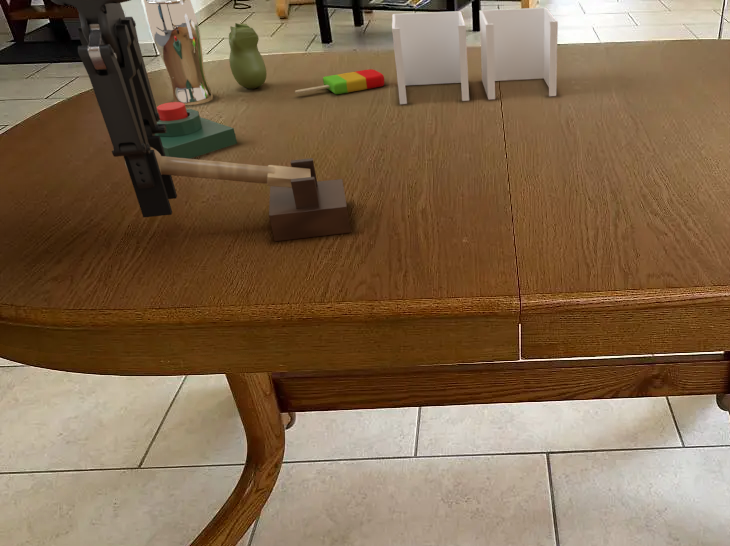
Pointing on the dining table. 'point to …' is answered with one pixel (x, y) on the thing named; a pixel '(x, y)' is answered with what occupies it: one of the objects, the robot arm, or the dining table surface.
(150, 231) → the dining table surface
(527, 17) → the twin white cubbies
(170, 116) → the button
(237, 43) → the pear
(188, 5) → the beer glass
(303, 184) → the holder
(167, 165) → the wooden rod
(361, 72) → the popsicle
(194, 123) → the button box
